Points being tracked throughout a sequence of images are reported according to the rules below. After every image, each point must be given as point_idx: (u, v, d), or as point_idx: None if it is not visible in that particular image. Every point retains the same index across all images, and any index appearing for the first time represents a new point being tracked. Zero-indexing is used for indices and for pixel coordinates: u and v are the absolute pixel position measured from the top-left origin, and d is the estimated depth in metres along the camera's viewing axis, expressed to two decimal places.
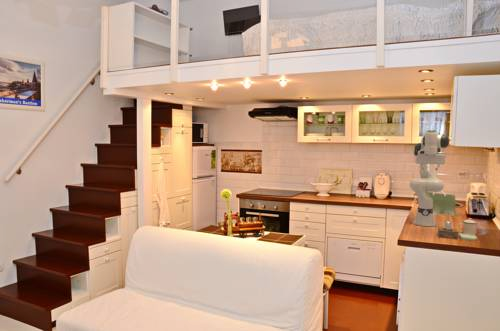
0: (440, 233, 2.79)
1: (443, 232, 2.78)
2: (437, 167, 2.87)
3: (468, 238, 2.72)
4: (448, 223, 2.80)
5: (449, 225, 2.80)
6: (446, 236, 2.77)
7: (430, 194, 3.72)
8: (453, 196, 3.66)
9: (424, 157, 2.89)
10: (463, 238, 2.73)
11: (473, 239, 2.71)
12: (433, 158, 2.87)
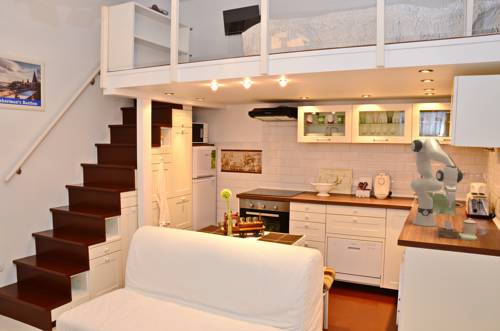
0: (440, 233, 2.79)
1: (443, 232, 2.78)
2: None
3: (468, 238, 2.72)
4: (448, 223, 2.80)
5: (449, 225, 2.80)
6: (446, 236, 2.77)
7: (430, 194, 3.72)
8: None
9: None
10: (463, 238, 2.73)
11: (473, 239, 2.71)
12: None
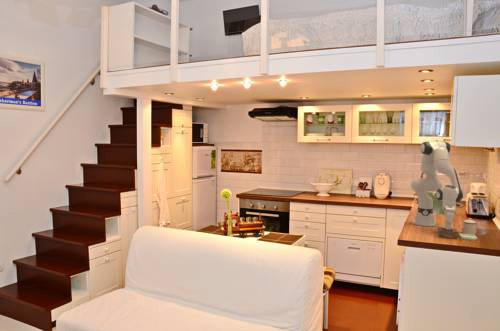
0: (440, 233, 2.79)
1: (443, 232, 2.78)
2: None
3: (468, 238, 2.72)
4: None
5: None
6: (446, 236, 2.77)
7: (430, 194, 3.72)
8: None
9: None
10: (463, 238, 2.73)
11: (473, 239, 2.71)
12: None
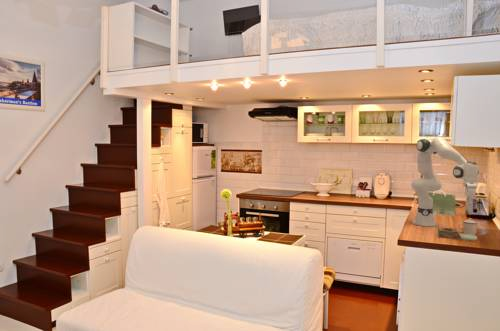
0: (440, 233, 2.79)
1: (443, 232, 2.78)
2: None
3: (468, 238, 2.72)
4: None
5: None
6: (446, 236, 2.77)
7: (430, 194, 3.71)
8: (453, 196, 3.66)
9: None
10: (463, 238, 2.73)
11: (473, 239, 2.71)
12: None
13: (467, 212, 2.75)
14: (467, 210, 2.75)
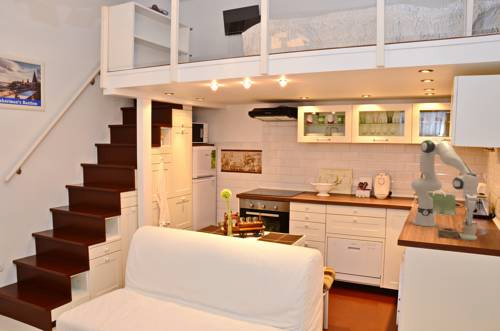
0: (440, 233, 2.79)
1: (443, 232, 2.78)
2: None
3: (468, 238, 2.72)
4: None
5: None
6: (446, 236, 2.77)
7: (430, 194, 3.71)
8: (453, 196, 3.66)
9: None
10: (463, 238, 2.73)
11: (473, 239, 2.71)
12: None
13: (467, 223, 2.76)
14: (467, 221, 2.76)
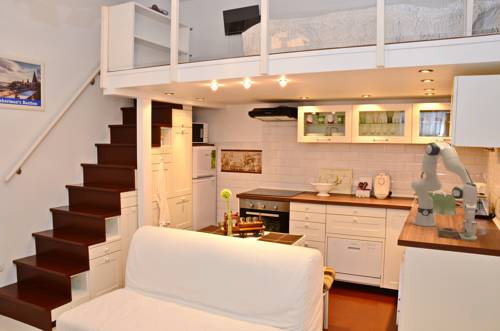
0: (440, 233, 2.79)
1: (443, 232, 2.78)
2: None
3: (468, 238, 2.72)
4: None
5: None
6: (446, 236, 2.77)
7: (430, 194, 3.71)
8: None
9: None
10: (463, 238, 2.73)
11: (473, 239, 2.71)
12: None
13: (466, 235, 2.76)
14: (466, 233, 2.76)
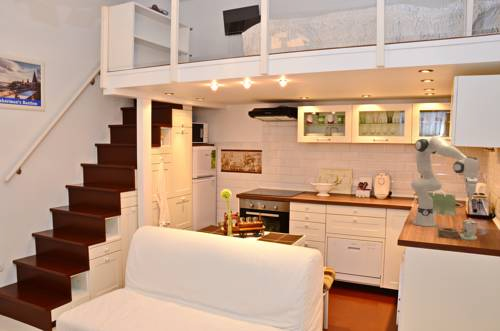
0: (440, 233, 2.79)
1: (443, 232, 2.78)
2: None
3: (468, 238, 2.72)
4: (468, 223, 2.75)
5: (469, 225, 2.75)
6: (446, 236, 2.77)
7: (430, 194, 3.71)
8: (453, 196, 3.65)
9: None
10: (463, 238, 2.73)
11: (473, 239, 2.71)
12: None
13: (466, 235, 2.76)
14: (466, 233, 2.76)
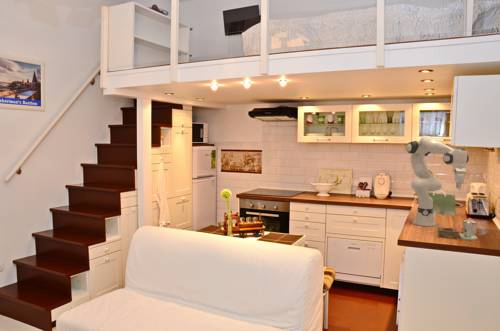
0: (440, 233, 2.79)
1: (443, 232, 2.78)
2: None
3: (468, 238, 2.72)
4: (468, 223, 2.75)
5: (469, 225, 2.75)
6: (446, 236, 2.77)
7: (430, 194, 3.70)
8: (453, 196, 3.65)
9: None
10: (463, 238, 2.73)
11: (473, 239, 2.71)
12: None
13: (466, 235, 2.76)
14: (466, 233, 2.76)
